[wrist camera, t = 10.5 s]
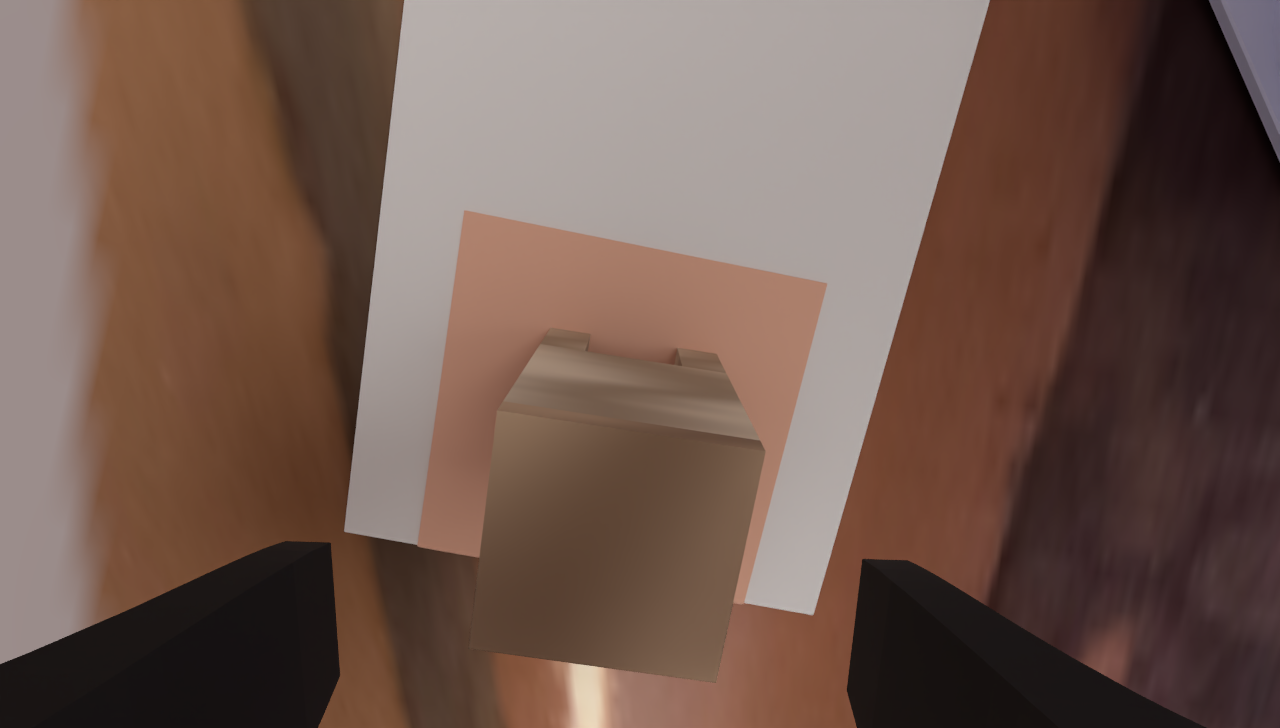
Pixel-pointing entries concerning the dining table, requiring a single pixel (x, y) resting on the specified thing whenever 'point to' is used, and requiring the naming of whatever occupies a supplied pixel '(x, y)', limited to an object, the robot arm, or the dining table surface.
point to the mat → (651, 234)
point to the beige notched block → (616, 511)
